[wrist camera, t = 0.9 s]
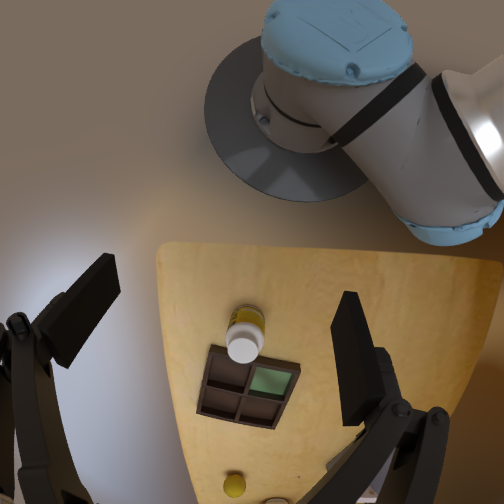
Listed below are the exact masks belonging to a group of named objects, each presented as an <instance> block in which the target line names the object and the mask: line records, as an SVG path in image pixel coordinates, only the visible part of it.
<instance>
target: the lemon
mask: <svg viewBox="0 0 504 504" xmlns="http://www.w3.org/2000/svg"><path fill="white" fill-rule="evenodd" d="M223 488H224V492H225V493H226V494H227V495H228V496H230V497H232V498H236V497H240V496H241V495H243V493H244V492H245V489H246V482H245V480H244V478H242V477H241V476H239V475H237V474H235V475H230V476H228V477H227V478H226V479H225V481H224V485H223Z"/></svg>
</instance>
